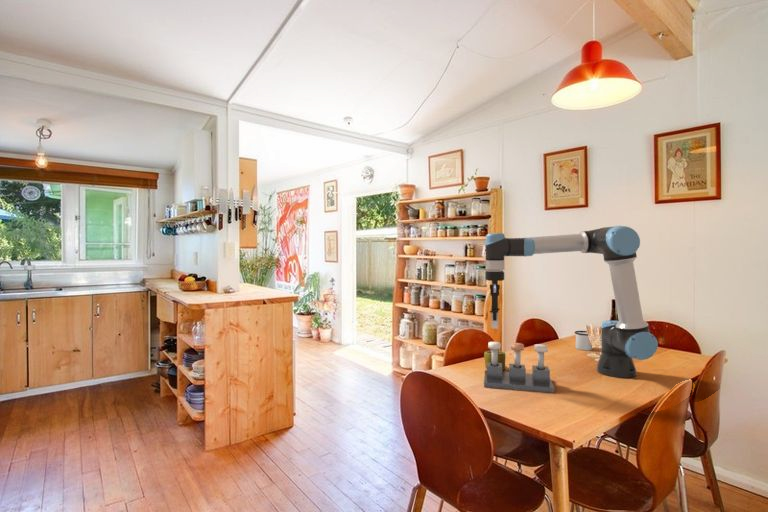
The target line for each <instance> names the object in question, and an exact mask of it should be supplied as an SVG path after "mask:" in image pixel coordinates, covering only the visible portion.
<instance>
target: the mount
mask: <svg viewBox="0 0 768 512" xmlns="http://www.w3.org/2000/svg"><path fill="white" fill-rule="evenodd" d="M531 367H532V368H531V370H532V371H531V373H527V371H526V365H525V364H520V368H518V367H514V363H509V371H503V370H502V363H498V366H492V363H491V362H487V369H486V370H484V379H483V388H490V389H491V388H492V389H504V390H513V391H514V390H516V391H525V392H537V393H539V392H540V393H546V394H547V393H549V394H555V386H554V384H553V382H552V379H551V373H550V372H551V371H550V368H549V366H547V365H546V366H545V365H544V369H538V365H532V366H531Z"/></svg>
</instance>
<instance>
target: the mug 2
mask: <svg viewBox="0 0 768 512" xmlns="http://www.w3.org/2000/svg"><path fill="white" fill-rule="evenodd" d="M587 331H588V330H587ZM587 331H586V330H575V331H574V334H575V349H576V350H580V351H585V352H588V351H589V352H590V351H592V350H593V349H592V345H591V343H590V340H589V337H588V334H587Z"/></svg>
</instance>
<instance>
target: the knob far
mask: <svg viewBox="0 0 768 512" xmlns="http://www.w3.org/2000/svg"><path fill="white" fill-rule="evenodd" d="M501 347H502V343H501V342H500V341H488V345H487V348H488V349H490V350H492V366H498V351H499V350H500V349H502V348H501Z"/></svg>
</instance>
